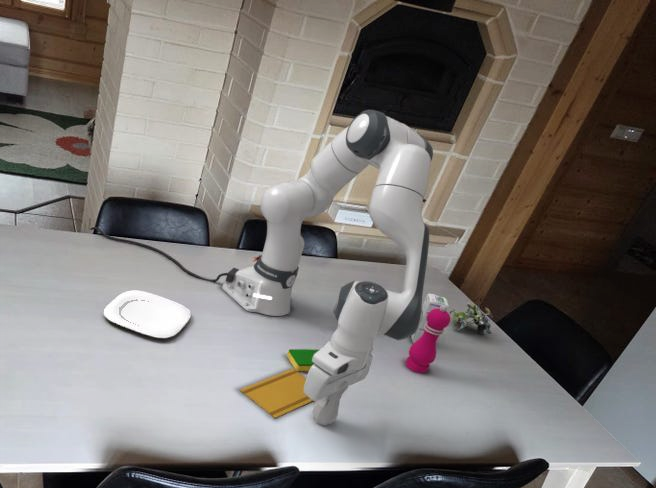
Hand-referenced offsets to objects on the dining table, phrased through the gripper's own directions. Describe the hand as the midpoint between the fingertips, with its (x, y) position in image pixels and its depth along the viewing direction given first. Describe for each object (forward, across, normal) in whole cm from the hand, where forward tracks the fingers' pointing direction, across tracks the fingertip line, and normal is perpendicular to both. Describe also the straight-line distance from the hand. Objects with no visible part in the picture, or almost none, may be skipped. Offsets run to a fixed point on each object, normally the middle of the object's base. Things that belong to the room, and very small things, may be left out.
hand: (328, 402), depth 150 cm
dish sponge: (+6, -18, -17) cm, 25 cm away
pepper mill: (+6, -46, -2) cm, 46 cm away
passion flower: (+6, -83, -6) cm, 83 cm away
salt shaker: (+6, 0, 0) cm, 6 cm away
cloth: (+6, 0, -12) cm, 13 cm away
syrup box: (+6, -61, -10) cm, 62 cm away
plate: (+6, +10, -55) cm, 56 cm away
